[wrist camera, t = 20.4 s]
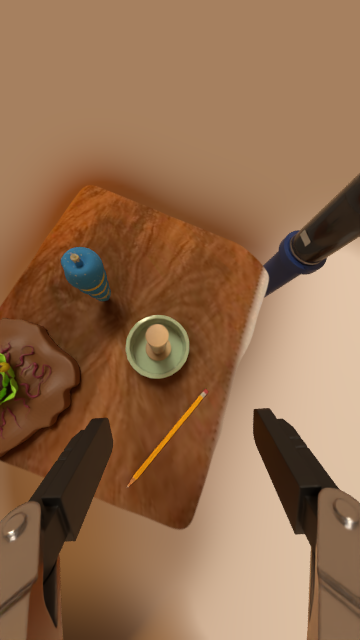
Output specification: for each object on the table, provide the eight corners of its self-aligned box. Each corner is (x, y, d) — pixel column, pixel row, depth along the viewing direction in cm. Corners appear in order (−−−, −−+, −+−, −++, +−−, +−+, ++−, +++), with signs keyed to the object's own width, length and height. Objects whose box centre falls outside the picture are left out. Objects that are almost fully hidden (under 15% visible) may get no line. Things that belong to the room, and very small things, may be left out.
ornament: (104, 282, 35) (65, 225, 21) (126, 295, 35) (103, 246, 20) (88, 303, 34) (35, 258, 19) (111, 316, 34) (75, 280, 19)
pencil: (209, 392, 32) (207, 390, 31) (128, 491, 27) (125, 489, 26) (206, 390, 32) (204, 388, 32) (127, 485, 27) (124, 484, 27)
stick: (167, 333, 33) (172, 309, 19) (173, 356, 32) (184, 350, 18) (143, 339, 33) (130, 320, 18) (149, 364, 32) (140, 363, 17)
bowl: (176, 316, 35) (179, 308, 30) (191, 366, 33) (197, 367, 28) (125, 329, 33) (119, 324, 28) (138, 383, 31) (134, 387, 26)
